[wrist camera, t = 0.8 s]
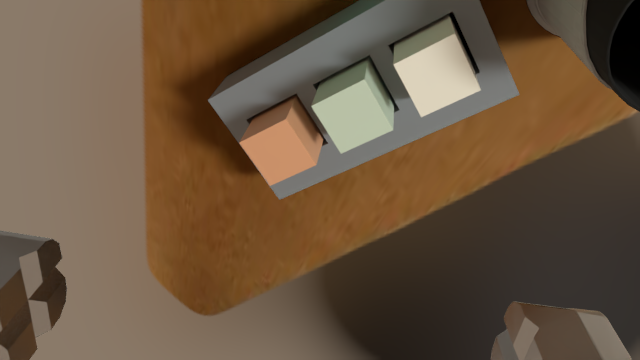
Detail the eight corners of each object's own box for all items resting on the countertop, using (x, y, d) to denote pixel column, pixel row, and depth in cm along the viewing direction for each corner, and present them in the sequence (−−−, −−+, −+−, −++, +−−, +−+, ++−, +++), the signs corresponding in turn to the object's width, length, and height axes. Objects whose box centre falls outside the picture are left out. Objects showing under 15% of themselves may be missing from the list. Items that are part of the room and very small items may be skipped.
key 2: (447, 8, 35) (454, 33, 30) (470, 58, 37) (481, 90, 32) (394, 36, 37) (393, 64, 31) (418, 83, 38) (421, 117, 33)
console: (454, -55, 35) (461, -43, 31) (506, 69, 39) (519, 94, 35) (226, 76, 43) (207, 100, 38) (290, 169, 47) (279, 199, 42)
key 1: (300, 85, 39) (286, 118, 34) (326, 127, 41) (316, 164, 36) (258, 107, 41) (239, 142, 36) (285, 147, 43) (270, 185, 38)
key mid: (369, 49, 37) (364, 79, 32) (394, 94, 39) (393, 130, 34) (322, 74, 39) (311, 106, 34) (348, 117, 40) (341, 153, 35)
